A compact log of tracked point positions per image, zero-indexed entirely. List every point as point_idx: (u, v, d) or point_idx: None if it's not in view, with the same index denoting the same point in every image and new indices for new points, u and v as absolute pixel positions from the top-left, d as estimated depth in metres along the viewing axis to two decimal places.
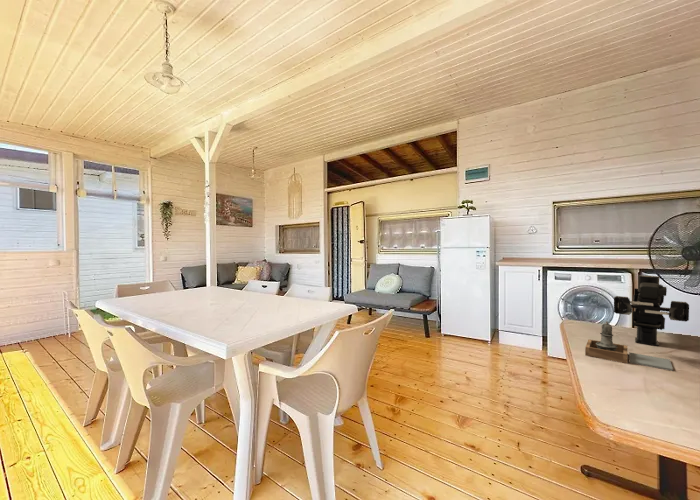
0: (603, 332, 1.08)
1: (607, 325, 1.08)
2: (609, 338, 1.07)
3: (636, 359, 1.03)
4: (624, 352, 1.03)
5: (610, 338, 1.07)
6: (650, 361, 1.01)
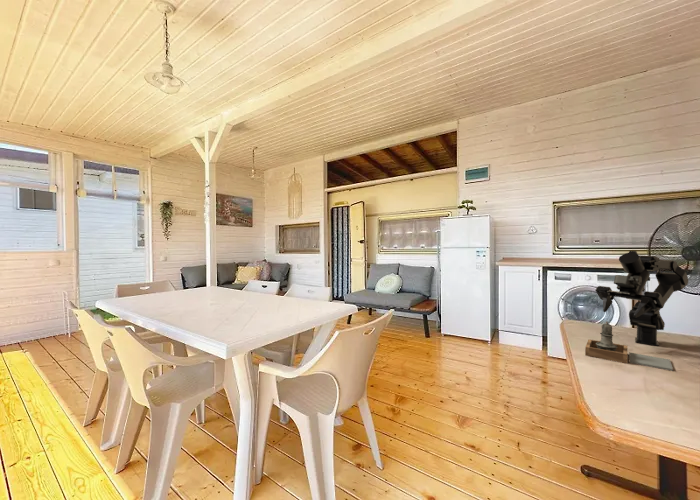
0: (603, 332, 1.08)
1: (607, 325, 1.08)
2: (609, 338, 1.07)
3: (636, 359, 1.03)
4: (624, 352, 1.03)
5: (610, 338, 1.07)
6: (650, 361, 1.01)
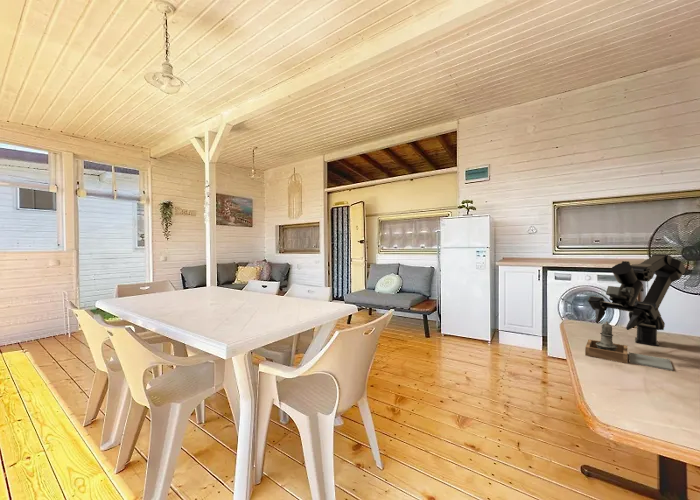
0: (603, 332, 1.08)
1: (607, 325, 1.08)
2: (609, 338, 1.07)
3: (636, 359, 1.03)
4: (624, 352, 1.03)
5: (610, 338, 1.07)
6: (650, 361, 1.01)
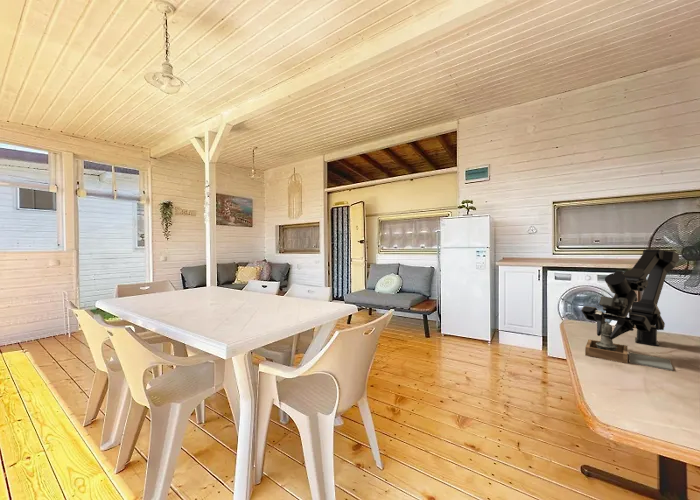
0: (603, 332, 1.08)
1: (607, 325, 1.08)
2: (609, 338, 1.07)
3: (636, 359, 1.03)
4: (624, 352, 1.03)
5: (610, 338, 1.07)
6: (650, 361, 1.01)
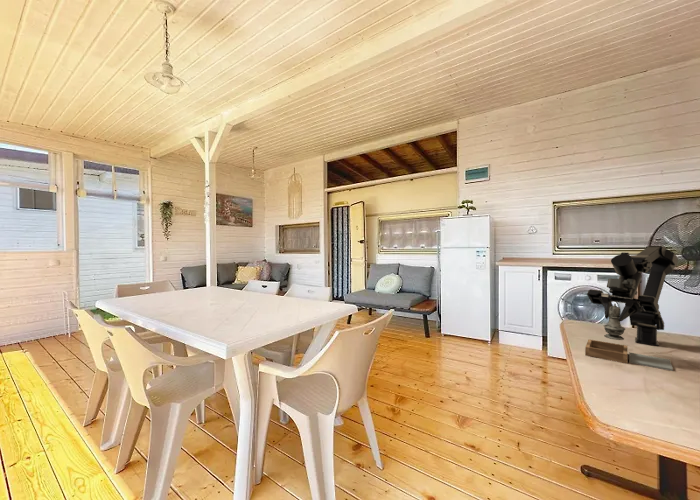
0: (611, 314, 1.07)
1: (615, 307, 1.06)
2: (617, 320, 1.06)
3: (636, 359, 1.03)
4: (624, 352, 1.03)
5: (618, 320, 1.06)
6: (650, 361, 1.01)
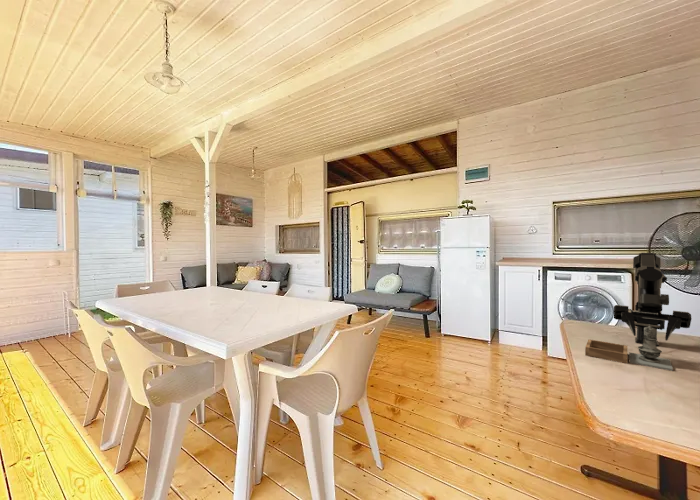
0: (648, 336, 1.01)
1: (652, 328, 1.01)
2: (654, 342, 1.01)
3: (636, 359, 1.03)
4: (624, 352, 1.03)
5: (655, 342, 1.01)
6: None
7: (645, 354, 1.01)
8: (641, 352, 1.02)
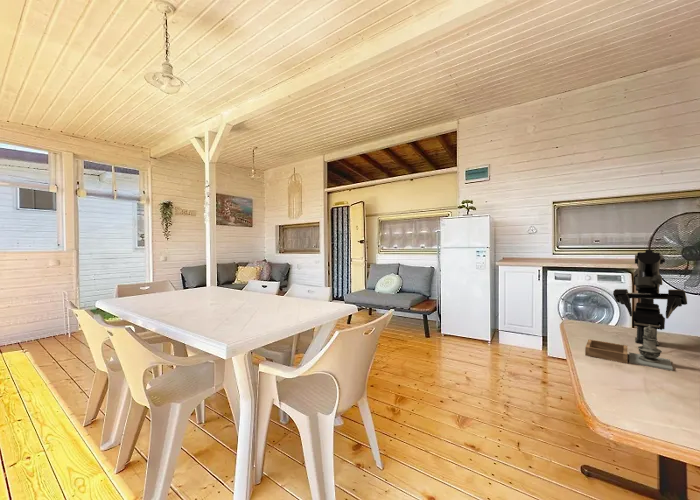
0: (648, 336, 1.01)
1: (652, 328, 1.01)
2: (654, 342, 1.01)
3: (636, 359, 1.03)
4: (624, 352, 1.03)
5: (655, 342, 1.01)
6: None
7: (645, 354, 1.01)
8: (641, 352, 1.02)
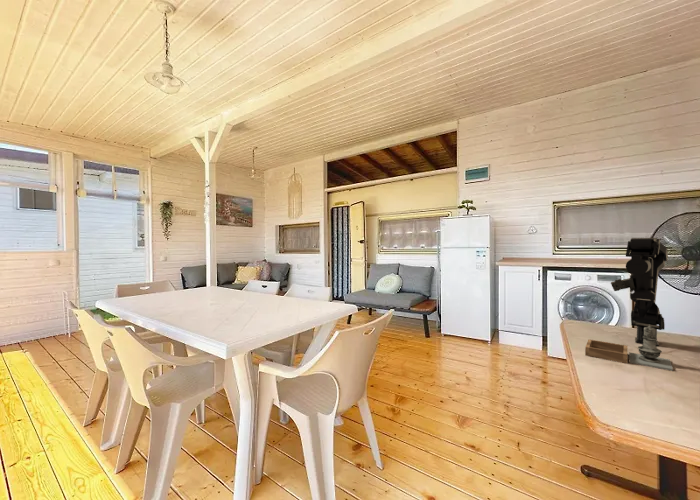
0: (648, 336, 1.01)
1: (652, 328, 1.01)
2: (654, 342, 1.01)
3: (636, 359, 1.03)
4: (624, 352, 1.03)
5: (655, 342, 1.01)
6: None
7: (645, 354, 1.01)
8: (641, 352, 1.02)
